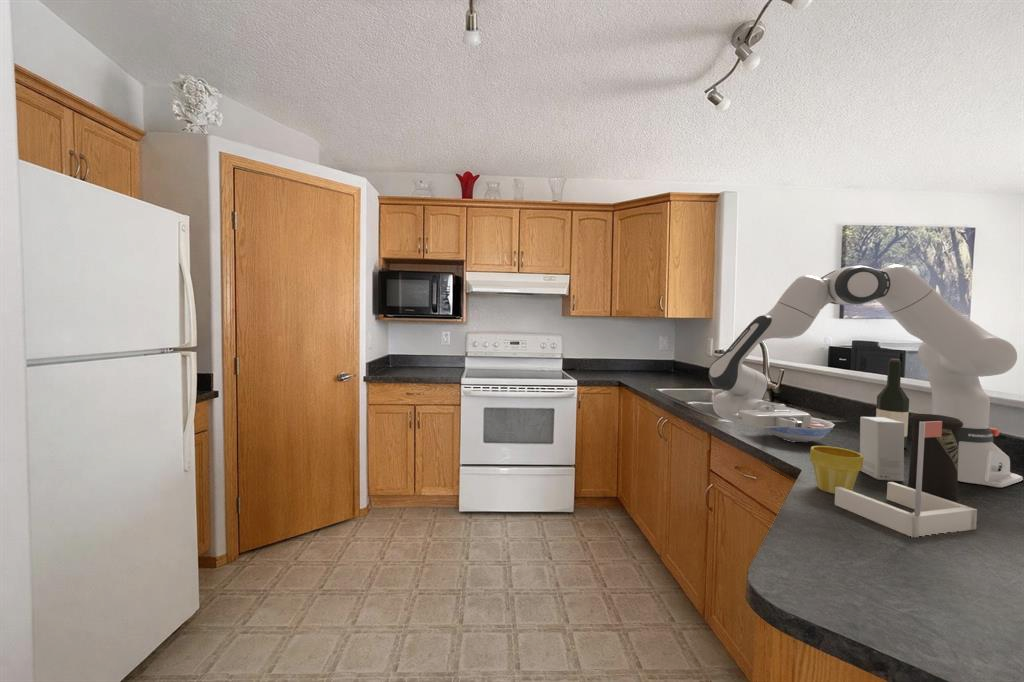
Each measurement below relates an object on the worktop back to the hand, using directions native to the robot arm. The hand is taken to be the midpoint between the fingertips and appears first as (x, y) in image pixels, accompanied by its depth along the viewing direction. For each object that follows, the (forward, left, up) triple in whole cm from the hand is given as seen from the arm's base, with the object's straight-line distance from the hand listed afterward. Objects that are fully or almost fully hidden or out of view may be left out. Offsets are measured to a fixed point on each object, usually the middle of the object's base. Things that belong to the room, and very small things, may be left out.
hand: (798, 425), depth 116 cm
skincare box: (-23, +4, -14) cm, 28 cm away
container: (-18, +19, -14) cm, 30 cm away
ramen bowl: (-32, -31, -14) cm, 47 cm away
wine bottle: (-60, -19, -14) cm, 65 cm away
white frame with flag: (0, +24, -14) cm, 28 cm away
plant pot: (0, +10, -14) cm, 17 cm away
